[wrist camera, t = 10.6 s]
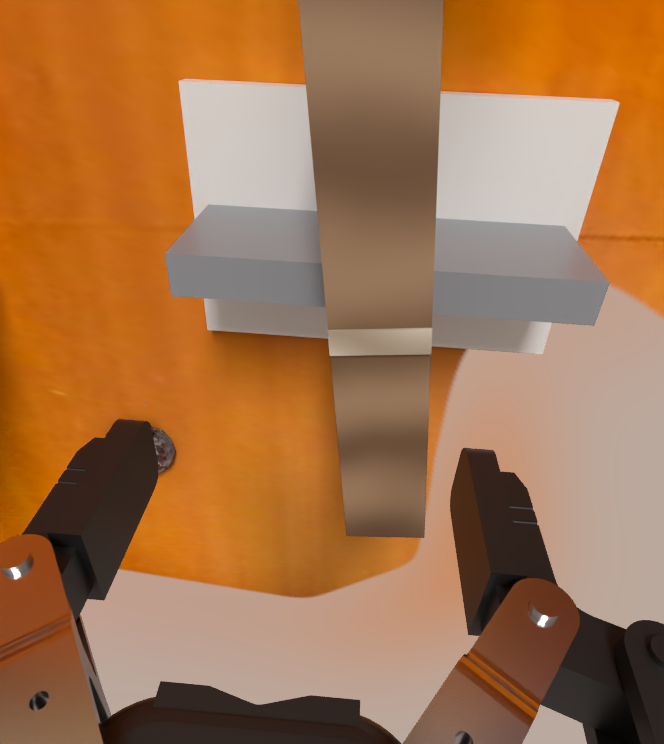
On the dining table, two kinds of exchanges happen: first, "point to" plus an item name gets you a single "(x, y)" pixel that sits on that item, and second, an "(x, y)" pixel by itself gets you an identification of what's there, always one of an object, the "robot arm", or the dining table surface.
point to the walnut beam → (377, 241)
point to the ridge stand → (453, 214)
